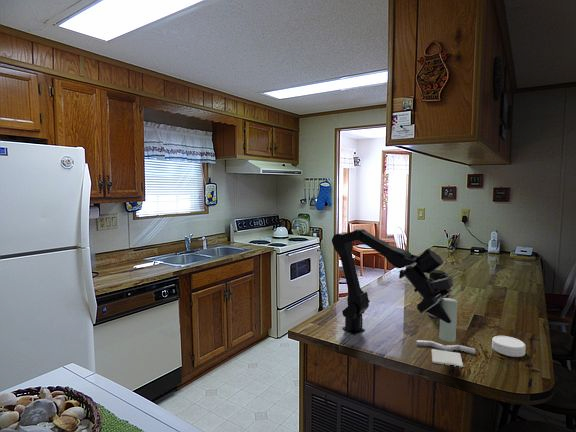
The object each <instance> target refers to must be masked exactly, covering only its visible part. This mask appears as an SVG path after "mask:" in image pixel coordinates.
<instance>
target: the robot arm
mask: <svg viewBox="0 0 576 432" xmlns="http://www.w3.org/2000/svg"><path fill="white" fill-rule="evenodd" d="M357 241H359V242H360V243H362V244H364V245H365V246H367V247H368V248H370V249H372V250H373V251H375V252H377V253H379V254H380V255H382V256H383V257H384V258H385V259H386V261H387V262H388V263H389V264H390V265H392V266H393V267H394V268H395V269H400V270H399V275H398V279H403V278H406V279H407V280H408V282H409V283H410V285H412V287H413V288H414V289H413V291H414V292H415V293H417V292H418V294H419V295H420V296H421V298H422V299H421V301H420V302H419V303H417V304H416V309H417V310H418V312H419V313H420V314H422V313H424V312H425V313H426V314H428V313H430V314H432V315H434V316H436V317H438V318H437V319H439V320H440V319H441V320H443V321H445V322H447V323H451V320H450V318H449V317H448V315H447V314H446V312H445V311H444V309H443V308H442V300H441V299H442V298H450V296H451V292H452V289H451V288H452V287H454V283H453V278H452V277H451V276H449V274H447V273H446V274H444V275H442V276H441V279H438V280H436V281H434V280H433V279H432V278H429V277H428V275H426V274H429V275H430V273H432V272H433V271H434V270H438V268H439V267H441V266H442V265H443V264H444V260H443V258H442V257H441V256H440V255H439V254H437V253H436V252H435V251H433V250H432V249H430V248H426V249H425V250H424V251H423V252H422V253H421V254H420V255H415V254H412V253H411V252H410V251H409V250H406V249H404V248H401V247H398V246H394V245H390V244H389V243H388V242H385V241H384V240H382V239H381V238H378V237H376V236H375V235H374V234H372V233H370V232H368V231H366V230H365V228H359V229H355V230H354V231H350V232H340V233H339V232H338V233H336V234H334V235H333V236H332V238H331V243H332V246H333V249H334V251H335V252H336V253H337V254H338V256H339V258H340V261H341V267H342V270H343V275H344V277H345V282H346V287H347V290H348V293H347V299H346V301H347V306H346V307H345V308H344V309H343V310H342V311H341V313H342V316H343V317H345V318H344V319H345V320H344V326H342V330H344V331H346V332H348V333H350V334H352V335H355V334H358V333H361V332H362V333H363V332H364V331H365V328H363V323H364V322H363V319H364V318H363V315H364V314H365V311H367V310H368V308H369V307H370V302H371V301H370V299H369V297H368V296H369V294H368V292H367V291H365V292H364V291H363V289H362V288H361V285H360V281H359V278H358V274H357V269H356V265H355V262H354V257H353V248H354V242H357ZM412 265H413V266H412ZM405 267H406V268H405ZM403 268H405V269H403ZM447 294H448V295H447Z"/></svg>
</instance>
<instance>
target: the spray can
mask: <svg viewBox="0 0 576 432" xmlns="http://www.w3.org/2000/svg"><path fill="white" fill-rule="evenodd" d="M444 274H447V273H446V271H443V270H439V269H436V270H434V271H433V272H432V273H430V274H429V277H428V278H432V279H433V280H434V281H436V280H438V279H441V276H442V275H444ZM427 315H428V316H429V317H431V318H435V319H436V318H437V319H439V318H438V317H436V316H434V315H432V314H430V313H428V312H427Z"/></svg>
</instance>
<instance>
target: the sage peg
mask: <svg viewBox="0 0 576 432" xmlns="http://www.w3.org/2000/svg"><path fill="white" fill-rule="evenodd" d="M441 300H442V308H443V309H444V311H445V312H446V314H447V315H448V317H449V318H450V320H451V323H447V322H445V321H443V320H441V319H439V330H438V331H439V332H438V333H439V335H438V337H439V339H440V340H441V341H444V342H448V343H452V342H455V341H457V340H456V339H457V338H456V337H457V336H456V335H457V321H458V320H457V318H458V300H457V299H454V298H450V297H449V298H442V299H441Z"/></svg>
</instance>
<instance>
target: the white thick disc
mask: <svg viewBox="0 0 576 432" xmlns="http://www.w3.org/2000/svg"><path fill="white" fill-rule="evenodd" d="M491 338H492V339H491V348H492V349H493V350H494V351H495V352H497V353H499V354H500V355H504V356H508V357H512V358H513V357H515V358H520V357H521V358H522V357H524V356H525V355H526V343H524V341H522V340H520V339H518V338H515V337H512V336H507V335H496V336H493V337H491Z"/></svg>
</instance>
